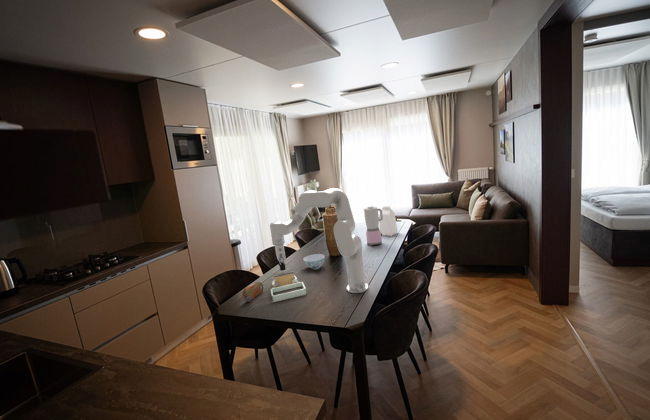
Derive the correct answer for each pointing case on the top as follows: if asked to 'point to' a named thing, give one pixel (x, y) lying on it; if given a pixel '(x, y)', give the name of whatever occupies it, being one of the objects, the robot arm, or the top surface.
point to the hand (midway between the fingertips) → (282, 267)
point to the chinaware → (314, 261)
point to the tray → (288, 294)
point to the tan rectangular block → (284, 277)
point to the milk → (388, 222)
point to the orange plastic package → (252, 291)
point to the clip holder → (285, 284)
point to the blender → (373, 225)
